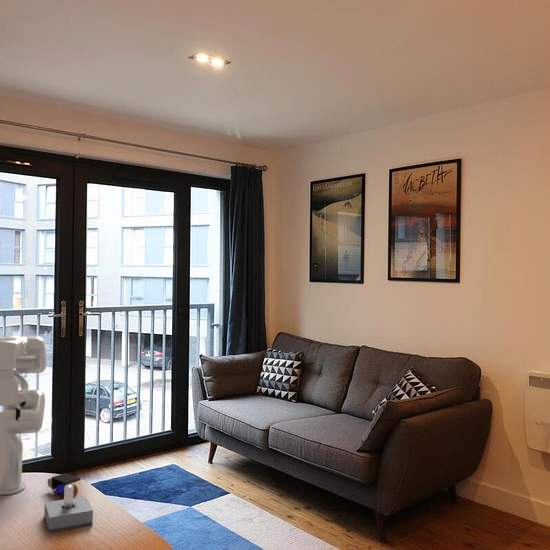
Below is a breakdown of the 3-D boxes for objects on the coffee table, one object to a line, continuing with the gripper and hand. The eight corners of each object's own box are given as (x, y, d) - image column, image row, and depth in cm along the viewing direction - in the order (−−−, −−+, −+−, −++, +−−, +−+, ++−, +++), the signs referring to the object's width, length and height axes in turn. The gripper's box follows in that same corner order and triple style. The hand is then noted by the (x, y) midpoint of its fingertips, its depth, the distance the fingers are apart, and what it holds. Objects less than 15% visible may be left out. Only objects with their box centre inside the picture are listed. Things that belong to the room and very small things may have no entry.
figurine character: (45, 495, 218) (66, 501, 208) (45, 475, 218) (66, 480, 209) (61, 491, 223) (82, 496, 214) (61, 471, 224) (82, 476, 214)
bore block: (44, 516, 195) (44, 502, 195) (85, 509, 202) (85, 496, 202) (49, 532, 183) (49, 517, 183) (92, 524, 189) (92, 510, 189)
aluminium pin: (62, 516, 193) (63, 485, 193) (71, 515, 194) (72, 484, 194) (64, 520, 190) (65, 488, 190) (73, 518, 192) (74, 487, 192)
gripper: (28, 371, 208) (27, 416, 208) (-23, 373, 200) (-25, 420, 199) (30, 374, 201) (28, 421, 201) (-23, 377, 193) (-25, 425, 193)
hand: (2, 420), depth 200 cm, fingers open, 9 cm apart
